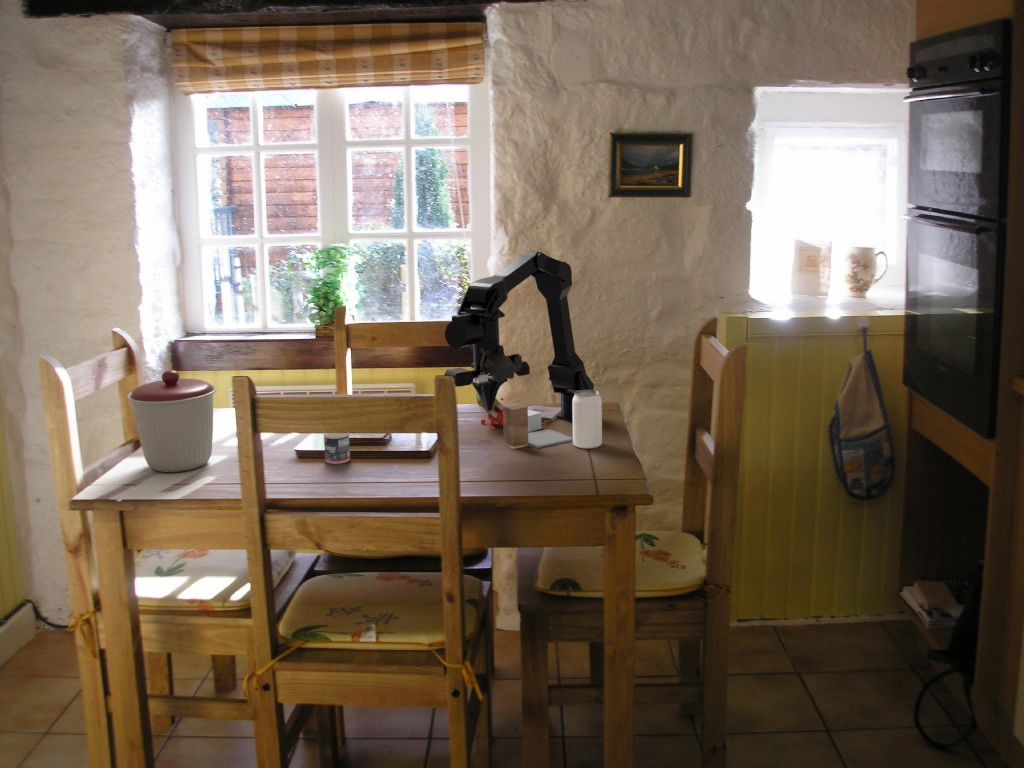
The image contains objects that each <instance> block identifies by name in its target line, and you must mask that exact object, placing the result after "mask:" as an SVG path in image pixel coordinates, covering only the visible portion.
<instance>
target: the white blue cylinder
mask: <svg viewBox="0 0 1024 768" xmlns="http://www.w3.org/2000/svg"><path fill="white" fill-rule="evenodd" d="M323 442H324V456H325V457H324V458H325V463H327V464H332V465H337V464H338V465H341V464H345V463H349V461H351V460H350V459H351V450H350V433H348V434H324V433H323Z"/></svg>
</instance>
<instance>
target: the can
mask: <svg viewBox="0 0 1024 768" xmlns="http://www.w3.org/2000/svg"><path fill="white" fill-rule="evenodd" d="M574 394H575V395H574V397H573V401H572V413H573V421H572V438H573V441H572V444H573V446H574V447H575V448H578V449H582V450H591V449H597V448H600V447H601V446H602V444H603V407H602V406H603V405H602V404H603V403H602V402H603V401H602V398H601V395H600V394H601V393H600V391H598V390H594V389H593V390H580V391H576V392H575V393H574ZM599 446H600V447H599Z"/></svg>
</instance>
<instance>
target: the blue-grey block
mask: <svg viewBox="0 0 1024 768" xmlns="http://www.w3.org/2000/svg"><path fill="white" fill-rule="evenodd" d="M541 429H542V412H540V411H535V410H531V409H528V433H531V432H535V431H539V430H541Z"/></svg>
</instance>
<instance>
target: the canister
mask: <svg viewBox="0 0 1024 768" xmlns="http://www.w3.org/2000/svg"><path fill="white" fill-rule="evenodd" d="M161 379H162V380H157V381H153V382H148V383H145V384H142V385H140V386H137V387H136V388H134V390H133V391H131V392H128V394H127V396H126V398H127V400H128V401H129V402H131V406H132V412H133V416H134V419H135V420H134V421H135V425H136V429H137V433H138V437H139V440H140V446H141V449H142V453H143V456H144V459H145V461H146V464H147V465H148V466H149V467H150V469H152V470H155V471H157V472H161V473H177V472H178V473H179V472H180V471H181V472H185V471H186V472H187V471H190V470H194V469H197V468H200V467H202V466H204V465H206V464H207V463H208V462H209V461H210V458H211V456H212V451H213V437H214V433H213V432H214V394H215V393H216V391H217V386H215V385H213V384H211V383H209V382H207V381H205V380H201V379H197V378H180V373H179V372H178V371H177V370H174V369H169V370H165V371H164V372H162V374H161Z"/></svg>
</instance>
